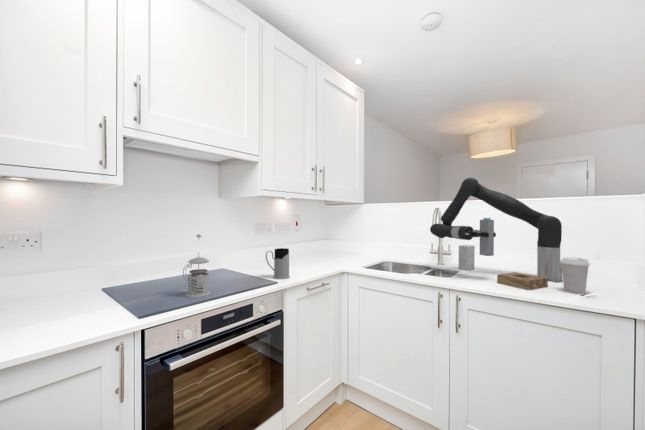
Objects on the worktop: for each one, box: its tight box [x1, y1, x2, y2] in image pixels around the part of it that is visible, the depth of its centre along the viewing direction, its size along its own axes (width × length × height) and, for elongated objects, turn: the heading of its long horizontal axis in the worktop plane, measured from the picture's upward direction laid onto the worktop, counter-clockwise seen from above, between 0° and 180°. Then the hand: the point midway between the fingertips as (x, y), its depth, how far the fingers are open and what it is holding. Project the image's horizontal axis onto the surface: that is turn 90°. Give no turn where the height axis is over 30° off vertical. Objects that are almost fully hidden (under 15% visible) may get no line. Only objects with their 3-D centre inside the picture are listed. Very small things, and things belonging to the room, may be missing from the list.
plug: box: [479, 217, 495, 257], centre depth 140 cm, size 4×4×19 cm
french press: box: [182, 234, 212, 298], centre depth 116 cm, size 10×12×25 cm
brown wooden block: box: [496, 271, 549, 291], centre depth 129 cm, size 14×14×5 cm
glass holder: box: [265, 247, 291, 280], centre depth 148 cm, size 9×14×15 cm, turn 68°
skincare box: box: [458, 244, 476, 271], centre depth 171 cm, size 8×6×15 cm
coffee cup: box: [560, 256, 591, 297], centre depth 118 cm, size 10×10×15 cm
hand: (491, 234), depth 137 cm, fingers closed on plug, 4 cm apart
